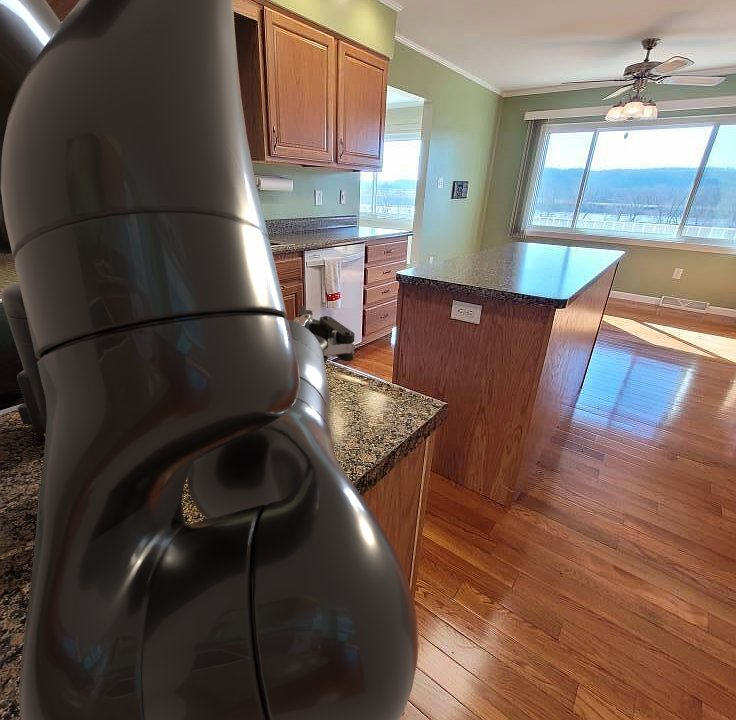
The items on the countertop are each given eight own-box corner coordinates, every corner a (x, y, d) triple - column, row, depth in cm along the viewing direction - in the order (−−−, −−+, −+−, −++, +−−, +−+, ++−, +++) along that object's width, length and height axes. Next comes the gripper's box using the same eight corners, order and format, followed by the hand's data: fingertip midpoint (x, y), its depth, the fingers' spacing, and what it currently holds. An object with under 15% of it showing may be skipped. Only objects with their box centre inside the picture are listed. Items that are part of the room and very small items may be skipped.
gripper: (377, 335, 27) (347, 281, 43) (153, 337, 25) (208, 278, 40) (371, 429, 30) (345, 346, 45) (170, 438, 27) (216, 347, 43)
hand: (281, 314), depth 43 cm, fingers open, 3 cm apart
